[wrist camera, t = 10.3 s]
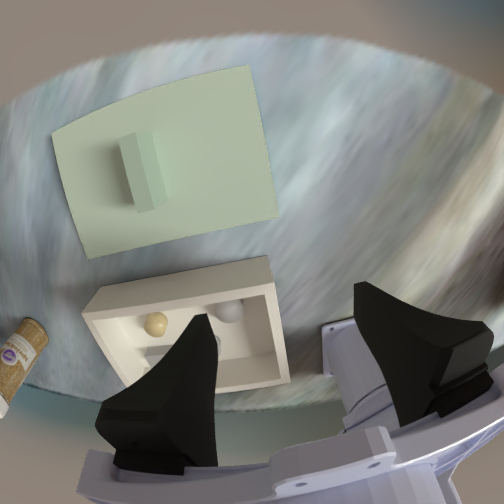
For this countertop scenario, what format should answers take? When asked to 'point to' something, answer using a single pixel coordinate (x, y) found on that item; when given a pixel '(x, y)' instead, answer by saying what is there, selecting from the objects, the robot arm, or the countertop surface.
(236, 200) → the lid
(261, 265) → the tub
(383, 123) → the countertop surface
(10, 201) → the countertop surface
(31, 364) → the sprinkles bottle
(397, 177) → the countertop surface
